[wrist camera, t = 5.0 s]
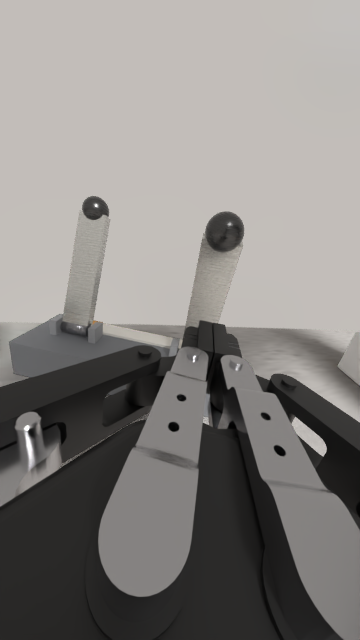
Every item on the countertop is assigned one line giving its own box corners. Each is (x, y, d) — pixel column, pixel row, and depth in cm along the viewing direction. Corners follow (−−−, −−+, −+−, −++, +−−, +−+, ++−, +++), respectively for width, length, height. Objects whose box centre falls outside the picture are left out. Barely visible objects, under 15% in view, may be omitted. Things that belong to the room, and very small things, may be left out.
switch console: (223, 375, 30) (234, 339, 28) (229, 421, 23) (244, 377, 20) (59, 340, 31) (57, 302, 29) (13, 373, 24) (6, 326, 21)
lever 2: (206, 350, 26) (249, 211, 16) (204, 369, 24) (253, 221, 14) (182, 345, 26) (209, 204, 16) (178, 363, 24) (206, 213, 14)
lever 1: (93, 335, 27) (115, 206, 25) (81, 338, 24) (105, 193, 23) (70, 330, 27) (91, 201, 25) (56, 333, 24) (78, 188, 23)
